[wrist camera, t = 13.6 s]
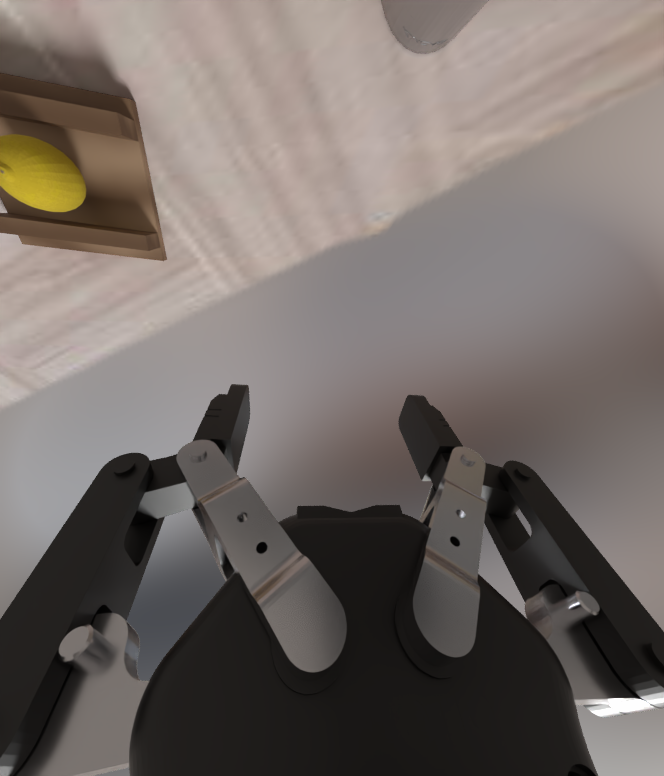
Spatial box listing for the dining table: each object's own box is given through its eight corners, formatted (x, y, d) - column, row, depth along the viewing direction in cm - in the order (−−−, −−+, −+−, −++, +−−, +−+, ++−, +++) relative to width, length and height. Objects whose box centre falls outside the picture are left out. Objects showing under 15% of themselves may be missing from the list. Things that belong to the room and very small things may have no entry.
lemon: (107, 169, 27) (47, 159, 21) (99, 222, 30) (43, 227, 23) (40, 128, 25) (-50, 102, 19) (37, 188, 28) (-43, 184, 21)
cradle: (-51, 65, 23) (-108, 42, 20) (135, 102, 26) (111, 87, 22) (29, 242, 31) (-3, 247, 28) (166, 259, 33) (152, 265, 30)
